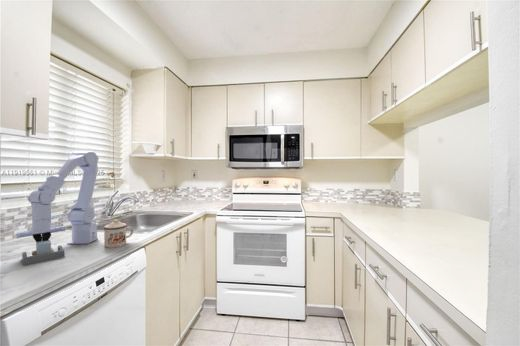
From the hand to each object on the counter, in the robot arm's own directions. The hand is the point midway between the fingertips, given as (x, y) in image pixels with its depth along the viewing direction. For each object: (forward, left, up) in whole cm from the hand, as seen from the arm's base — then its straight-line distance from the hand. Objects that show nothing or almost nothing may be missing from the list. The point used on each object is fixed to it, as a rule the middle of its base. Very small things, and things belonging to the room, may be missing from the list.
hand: (42, 251), depth 95 cm
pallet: (-4, +4, -1) cm, 5 cm away
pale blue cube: (-4, +4, +1) cm, 6 cm away
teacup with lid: (-25, -11, -1) cm, 27 cm away
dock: (-4, +4, -1) cm, 6 cm away
